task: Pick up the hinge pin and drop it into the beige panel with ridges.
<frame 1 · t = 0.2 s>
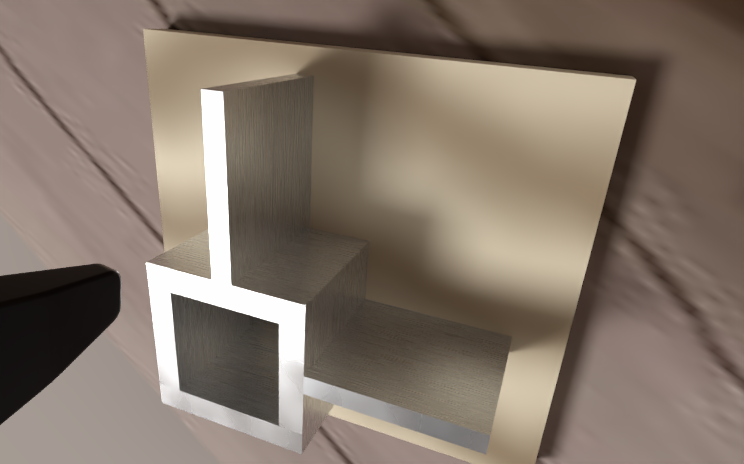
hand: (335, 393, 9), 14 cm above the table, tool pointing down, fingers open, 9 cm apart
beige panel with ridges: (353, 248, 25), on the table
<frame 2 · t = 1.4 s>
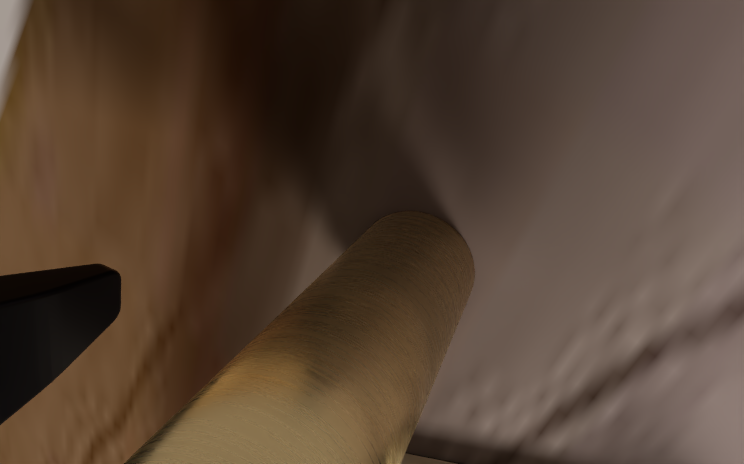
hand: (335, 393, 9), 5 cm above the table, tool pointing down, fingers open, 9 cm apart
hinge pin: (414, 267, 13), on the table
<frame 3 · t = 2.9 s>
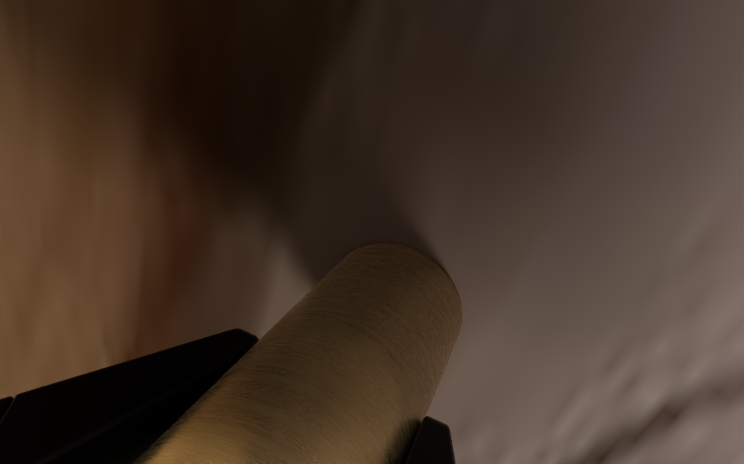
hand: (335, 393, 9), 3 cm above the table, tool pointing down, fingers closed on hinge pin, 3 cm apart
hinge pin: (392, 307, 11), on the table, touching gripper
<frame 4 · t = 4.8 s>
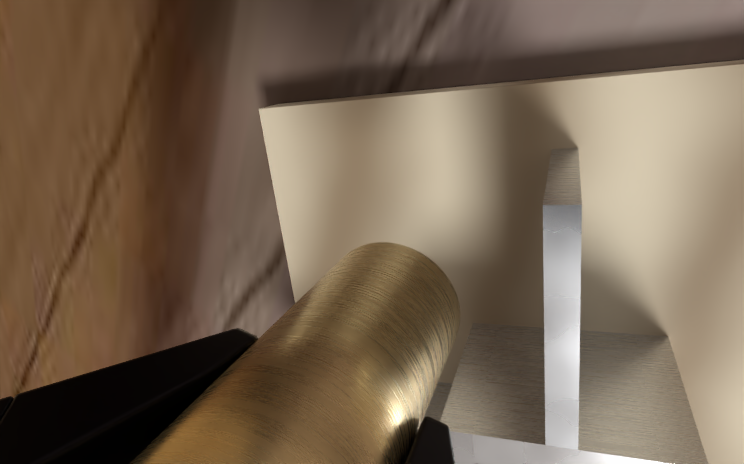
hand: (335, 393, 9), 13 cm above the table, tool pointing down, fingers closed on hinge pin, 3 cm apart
beige panel with ridges: (512, 334, 21), on the table
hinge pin: (391, 306, 11), point 10 cm above the table, touching gripper
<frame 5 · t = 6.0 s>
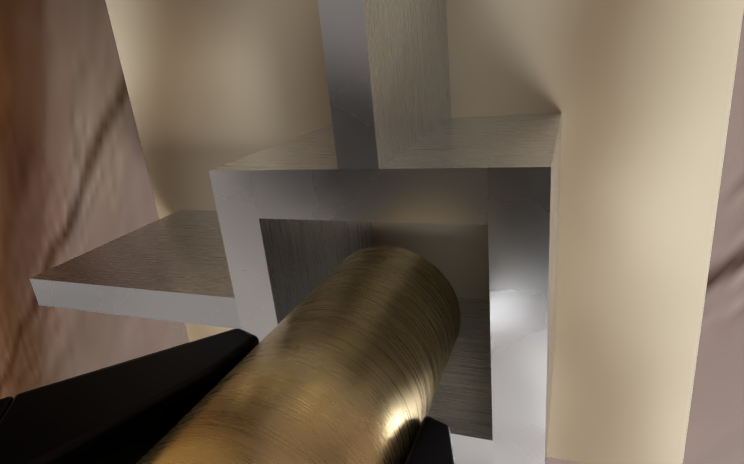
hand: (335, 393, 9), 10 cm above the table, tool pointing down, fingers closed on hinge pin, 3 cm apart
beige panel with ridges: (391, 154, 17), on the table
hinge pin: (391, 309, 11), point 7 cm above the table, touching gripper
when the fingers open (8 cm above the table, at t = 6.8 s): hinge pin drops 4 cm, resting on beige panel with ridges.
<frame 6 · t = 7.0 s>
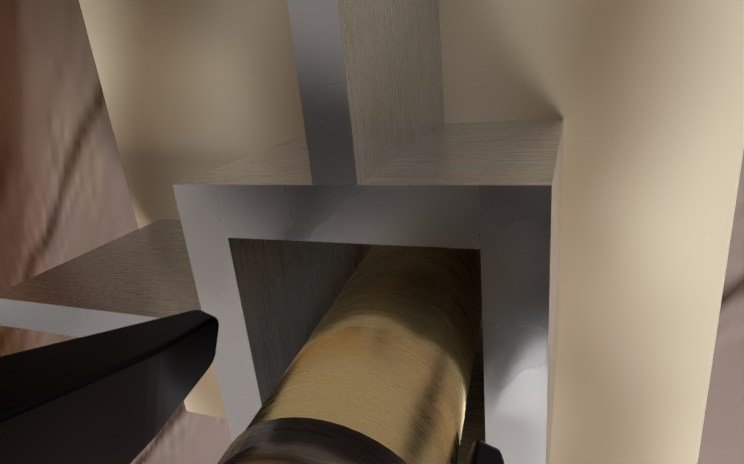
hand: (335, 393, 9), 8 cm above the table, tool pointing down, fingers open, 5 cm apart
beige panel with ridges: (381, 161, 16), on the table
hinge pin: (437, 244, 14), point 2 cm above the table, touching gripper, beige panel with ridges
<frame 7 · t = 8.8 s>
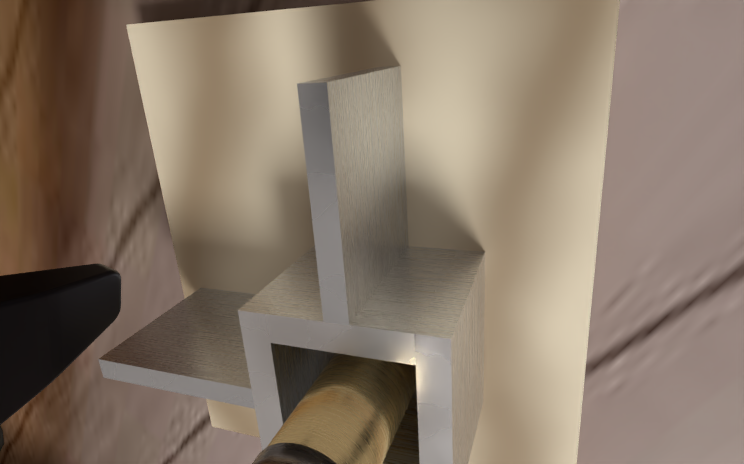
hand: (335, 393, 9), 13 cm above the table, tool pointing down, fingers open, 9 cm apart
beige panel with ridges: (366, 257, 22), on the table
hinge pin: (403, 321, 21), point 2 cm above the table, touching beige panel with ridges
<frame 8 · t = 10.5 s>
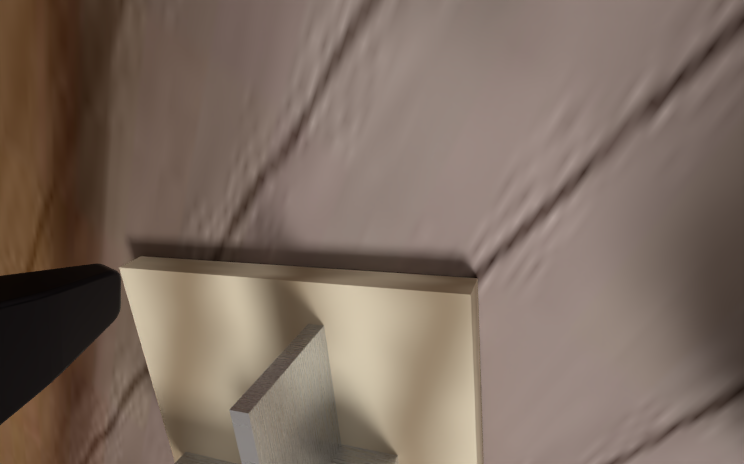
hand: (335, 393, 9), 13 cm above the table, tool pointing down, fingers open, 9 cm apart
beige panel with ridges: (315, 435, 28), on the table
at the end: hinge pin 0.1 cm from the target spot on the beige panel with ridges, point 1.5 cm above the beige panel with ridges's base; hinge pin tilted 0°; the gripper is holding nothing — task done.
